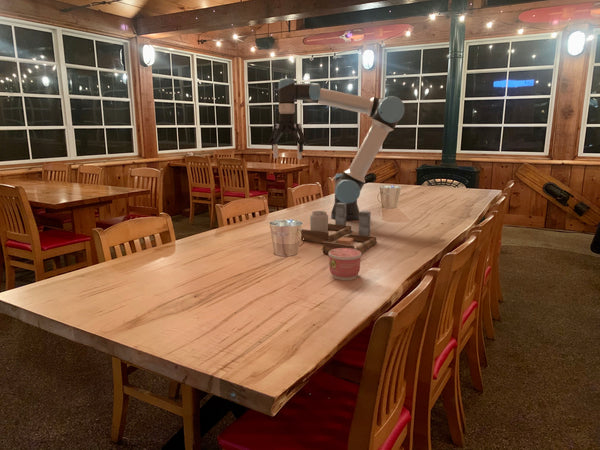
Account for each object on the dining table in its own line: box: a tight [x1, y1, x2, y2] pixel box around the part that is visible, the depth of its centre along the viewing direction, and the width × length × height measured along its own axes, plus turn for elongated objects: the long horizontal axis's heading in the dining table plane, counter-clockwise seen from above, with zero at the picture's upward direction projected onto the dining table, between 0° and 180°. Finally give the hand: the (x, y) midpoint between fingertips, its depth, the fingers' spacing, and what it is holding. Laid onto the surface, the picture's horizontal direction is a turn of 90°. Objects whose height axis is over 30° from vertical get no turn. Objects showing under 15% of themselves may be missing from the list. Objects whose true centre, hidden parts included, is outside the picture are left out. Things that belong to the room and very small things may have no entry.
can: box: [309, 210, 329, 233], centre depth 185 cm, size 8×8×12 cm
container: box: [328, 248, 362, 281], centre depth 140 cm, size 10×10×8 cm
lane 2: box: [322, 210, 378, 255], centre depth 173 cm, size 28×12×12 cm, turn 150°
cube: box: [337, 236, 354, 245], centre depth 168 cm, size 5×5×5 cm
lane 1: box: [300, 203, 352, 244], centre depth 192 cm, size 28×12×12 cm, turn 150°
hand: (287, 158), depth 211 cm, fingers open, 13 cm apart
